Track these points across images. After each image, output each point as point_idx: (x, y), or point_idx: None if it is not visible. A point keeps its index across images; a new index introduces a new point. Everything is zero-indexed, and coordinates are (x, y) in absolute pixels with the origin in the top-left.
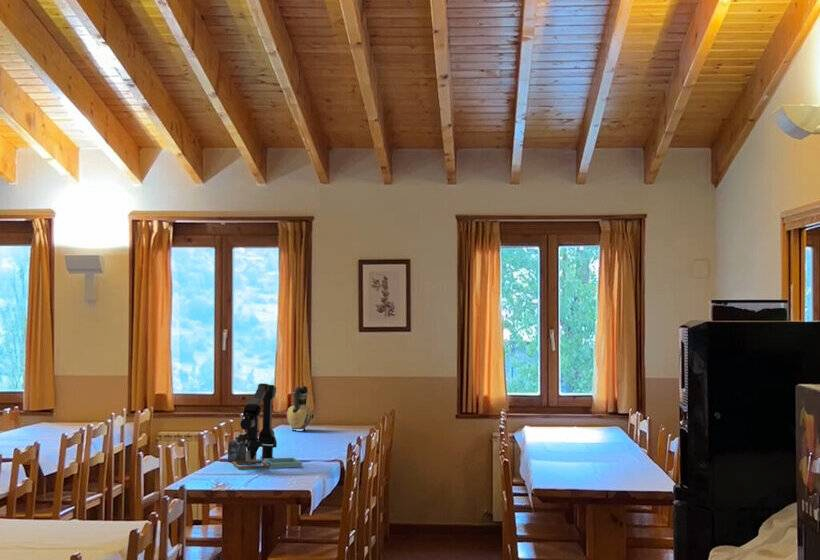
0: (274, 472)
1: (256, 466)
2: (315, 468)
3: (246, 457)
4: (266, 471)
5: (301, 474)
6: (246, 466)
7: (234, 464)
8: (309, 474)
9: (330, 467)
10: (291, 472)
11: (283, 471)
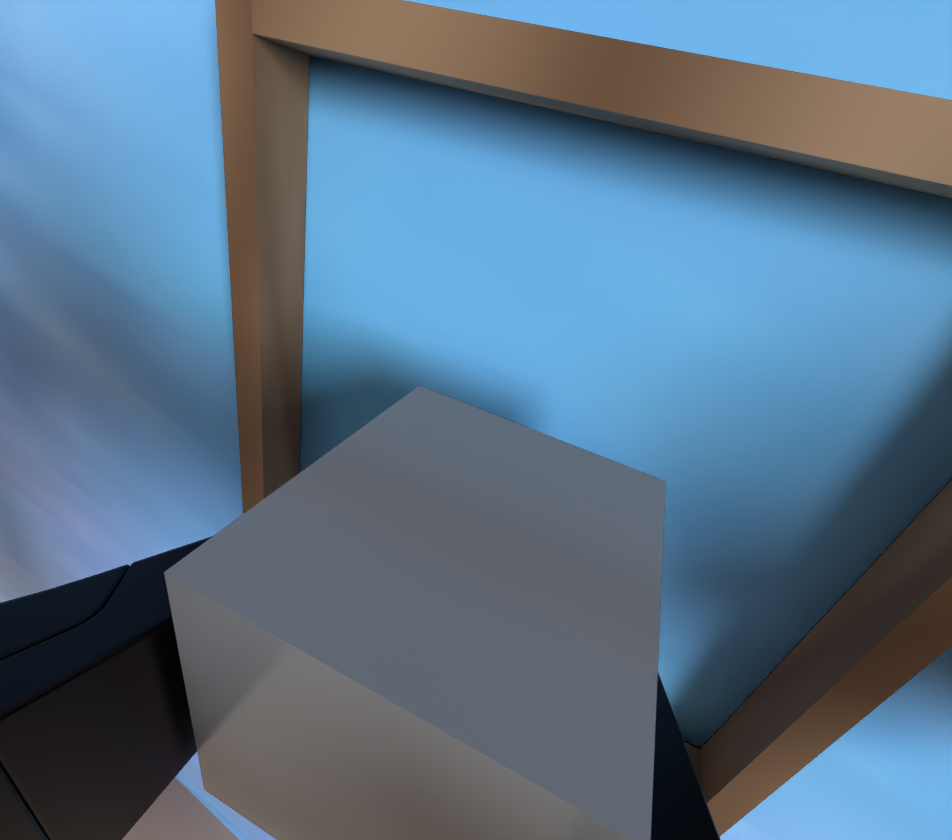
0: (54, 429)
1: (247, 410)
2: None
3: (514, 494)
4: (101, 394)
5: (3, 542)
6: (233, 214)
7: (848, 95)
8: (13, 580)
9: (246, 836)
10: (69, 548)
11: (109, 533)
